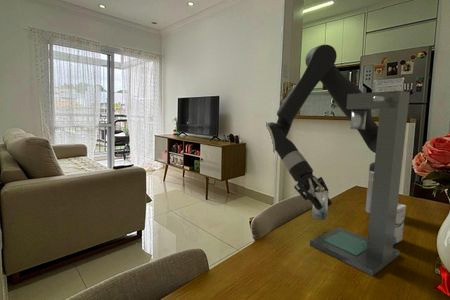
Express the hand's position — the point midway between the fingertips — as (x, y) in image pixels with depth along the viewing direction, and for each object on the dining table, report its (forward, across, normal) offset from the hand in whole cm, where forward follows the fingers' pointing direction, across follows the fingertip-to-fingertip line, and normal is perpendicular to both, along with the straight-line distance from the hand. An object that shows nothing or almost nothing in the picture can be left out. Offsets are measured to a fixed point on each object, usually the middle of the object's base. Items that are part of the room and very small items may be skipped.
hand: (325, 206), depth 83 cm
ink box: (+17, +12, -4) cm, 21 cm away
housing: (+2, 0, +4) cm, 5 cm away
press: (+15, -4, -2) cm, 15 cm away
